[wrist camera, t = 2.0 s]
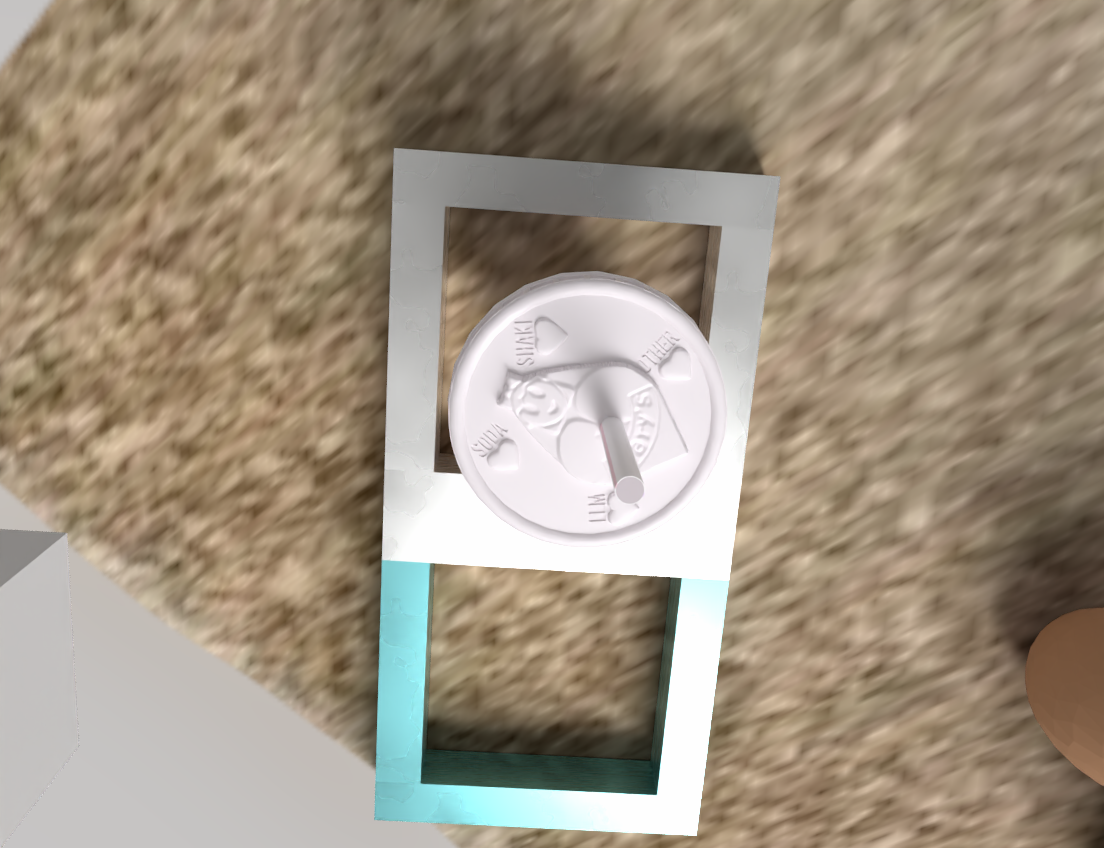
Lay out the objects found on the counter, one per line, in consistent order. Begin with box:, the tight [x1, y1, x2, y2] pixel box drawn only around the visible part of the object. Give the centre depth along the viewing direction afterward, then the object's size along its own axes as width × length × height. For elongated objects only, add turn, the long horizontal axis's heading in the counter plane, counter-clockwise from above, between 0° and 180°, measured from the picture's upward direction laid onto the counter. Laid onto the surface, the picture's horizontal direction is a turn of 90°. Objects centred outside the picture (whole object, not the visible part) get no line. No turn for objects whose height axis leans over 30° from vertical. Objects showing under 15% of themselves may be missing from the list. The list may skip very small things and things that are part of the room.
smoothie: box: [448, 271, 727, 548], centre depth 25 cm, size 6×6×14 cm
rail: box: [374, 148, 780, 835], centre depth 32 cm, size 22×11×2 cm, turn 176°
